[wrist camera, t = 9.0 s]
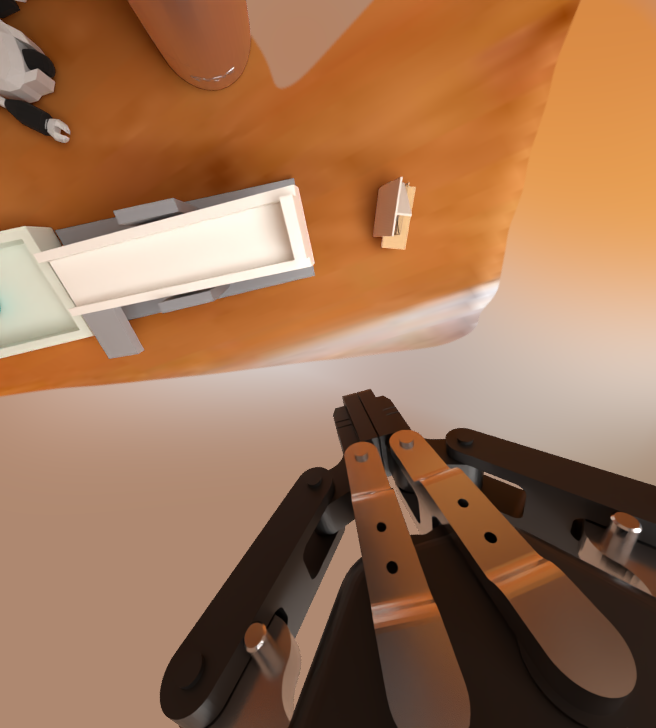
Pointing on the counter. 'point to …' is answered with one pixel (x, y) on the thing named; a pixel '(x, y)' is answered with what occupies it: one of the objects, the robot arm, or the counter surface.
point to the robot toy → (26, 77)
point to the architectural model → (394, 213)
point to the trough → (180, 259)
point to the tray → (33, 295)
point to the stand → (170, 209)
